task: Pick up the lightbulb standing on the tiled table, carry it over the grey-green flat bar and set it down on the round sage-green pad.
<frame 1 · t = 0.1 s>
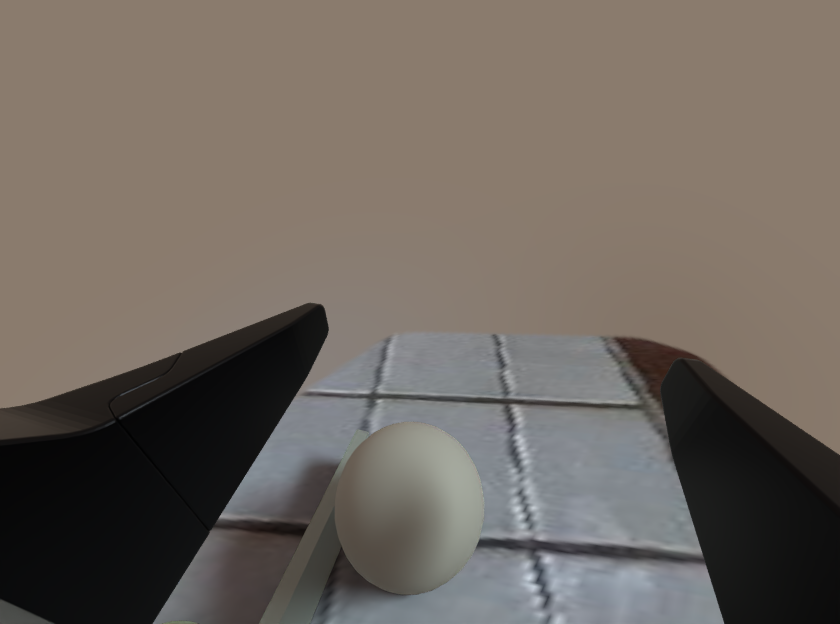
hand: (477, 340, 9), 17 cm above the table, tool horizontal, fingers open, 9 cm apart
lightbulb: (413, 571, 18), on the table
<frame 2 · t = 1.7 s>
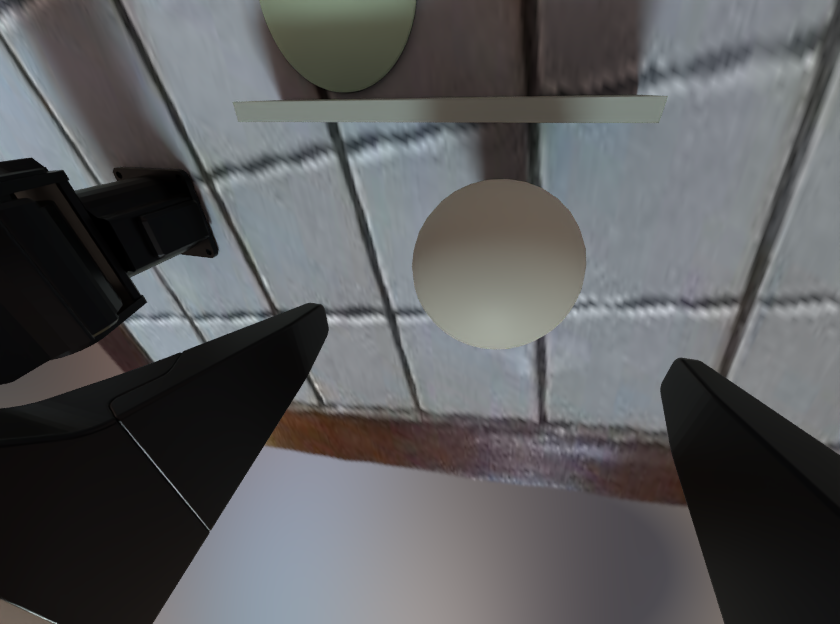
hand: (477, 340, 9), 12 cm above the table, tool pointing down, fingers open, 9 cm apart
grey-green flat bar: (438, 107, 17), on the table
lightbulb: (506, 205, 19), on the table
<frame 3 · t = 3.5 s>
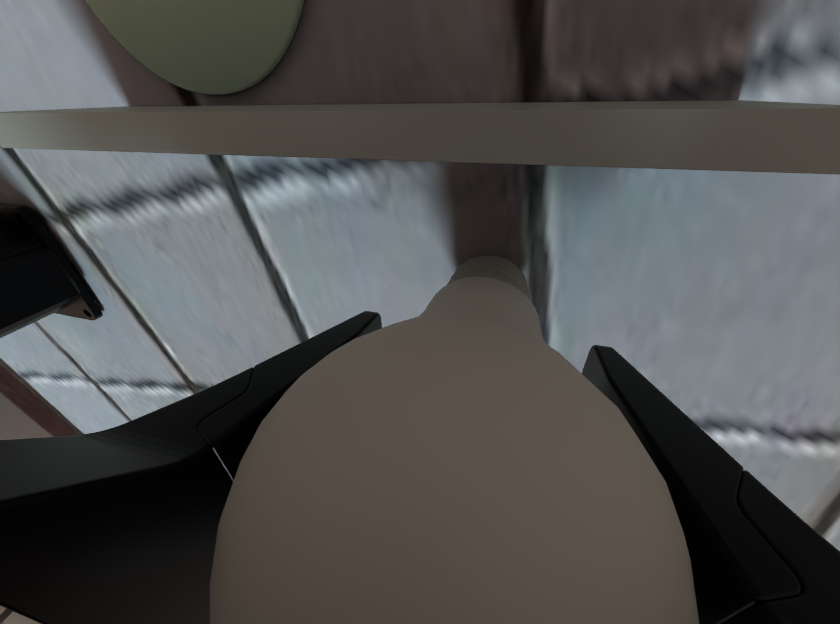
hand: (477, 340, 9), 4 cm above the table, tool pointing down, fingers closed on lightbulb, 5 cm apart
grey-green flat bar: (370, 120, 10), on the table
lightbulb: (490, 276, 12), on the table, touching gripper
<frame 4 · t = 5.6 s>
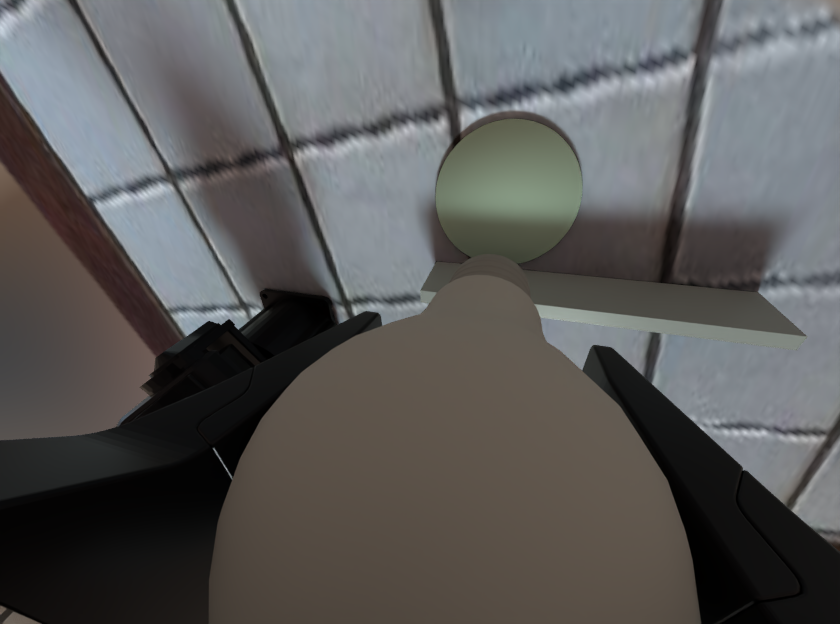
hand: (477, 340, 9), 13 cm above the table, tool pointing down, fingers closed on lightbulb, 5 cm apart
grey-green flat bar: (578, 281, 20), on the table
lightbulb: (492, 275, 12), point 9 cm above the table, touching gripper
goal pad: (504, 199, 19), on the table
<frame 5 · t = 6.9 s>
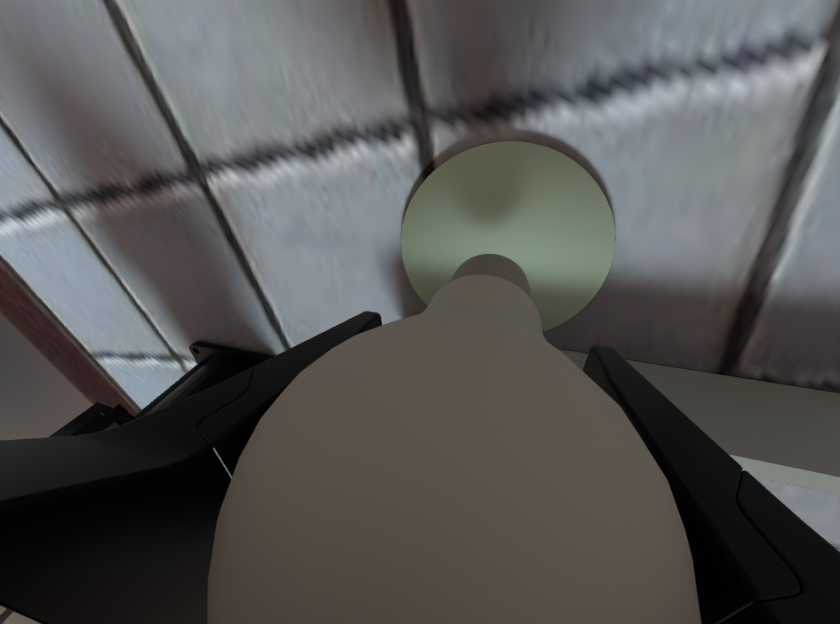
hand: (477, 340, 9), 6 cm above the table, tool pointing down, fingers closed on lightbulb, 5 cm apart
grey-green flat bar: (600, 363, 14), on the table
lightbulb: (492, 275, 12), point 2 cm above the table, touching gripper
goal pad: (498, 253, 13), on the table
when the fingers open (5 cm above the table, at t = 7.9 s): lightbulb drops 1 cm, resting on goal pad.
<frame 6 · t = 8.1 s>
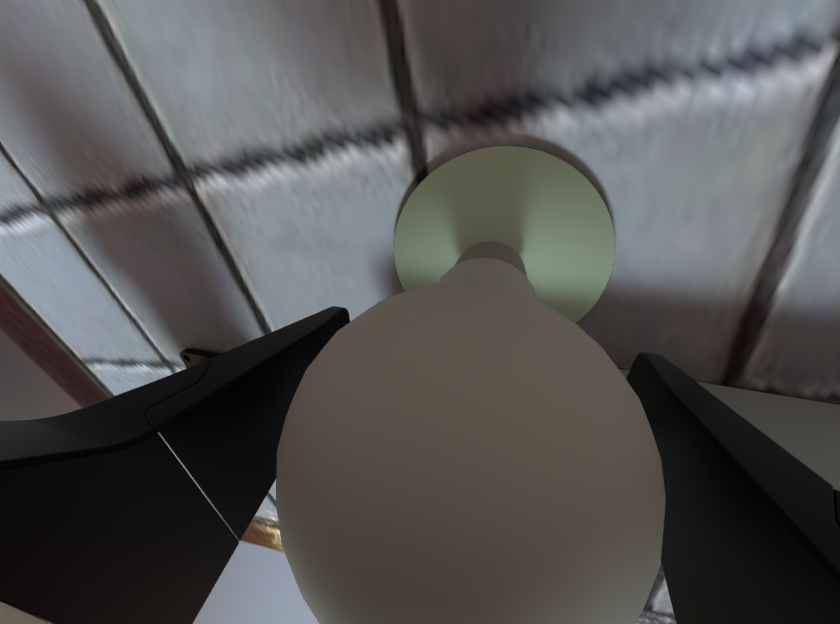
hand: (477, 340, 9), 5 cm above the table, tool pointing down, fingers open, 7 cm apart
grey-green flat bar: (600, 373, 14), on the table
lightbulb: (491, 262, 13), resting on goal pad
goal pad: (494, 261, 13), on the table
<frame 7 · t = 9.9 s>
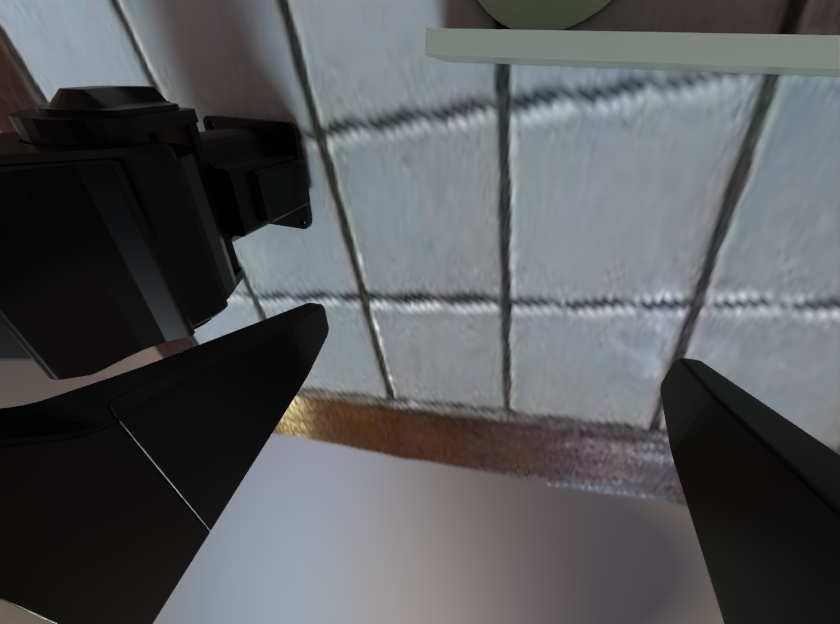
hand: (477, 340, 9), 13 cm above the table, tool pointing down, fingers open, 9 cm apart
grey-green flat bar: (651, 57, 14), on the table
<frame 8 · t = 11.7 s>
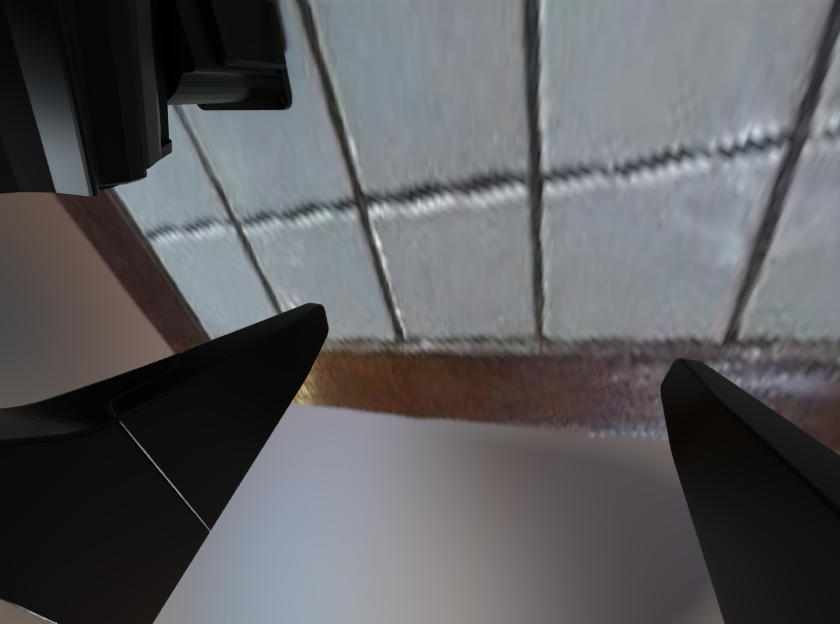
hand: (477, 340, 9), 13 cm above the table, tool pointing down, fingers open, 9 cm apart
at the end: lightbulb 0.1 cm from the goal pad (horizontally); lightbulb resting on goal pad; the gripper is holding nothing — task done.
